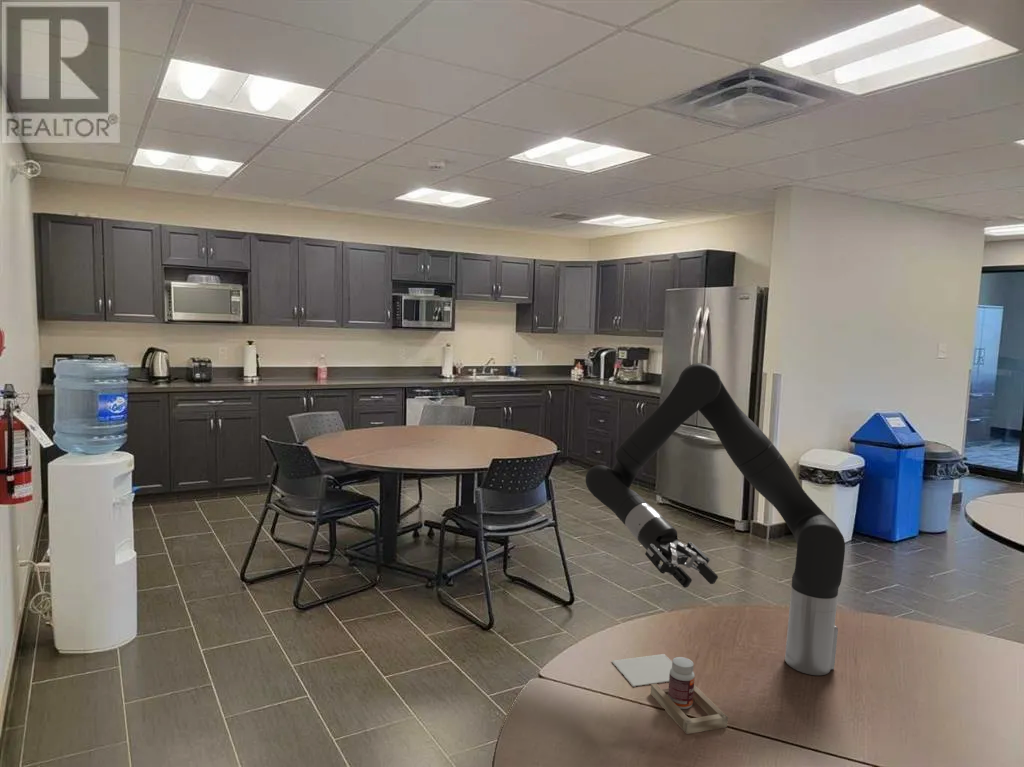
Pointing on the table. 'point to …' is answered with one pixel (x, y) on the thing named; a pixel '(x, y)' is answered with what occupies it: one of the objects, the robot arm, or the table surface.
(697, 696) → the wooden rectangular frame
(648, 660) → the mat
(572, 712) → the table surface
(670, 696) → the pill bottle
